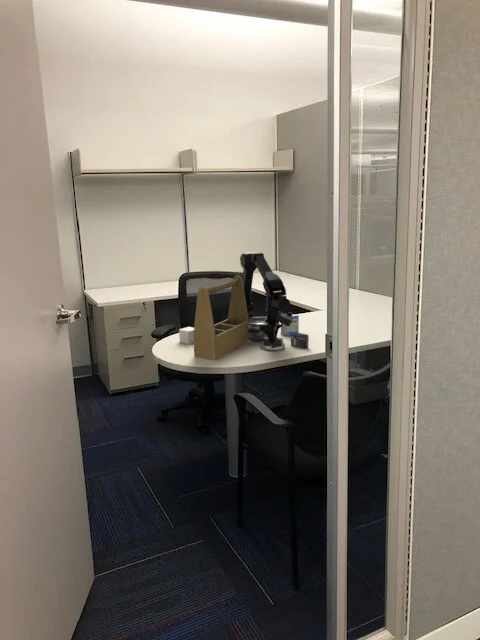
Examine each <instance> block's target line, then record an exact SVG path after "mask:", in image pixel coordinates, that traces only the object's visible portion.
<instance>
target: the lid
mask: <svg viewBox="0 0 480 640" xmlns="http://www.w3.org/2000/svg"><path fill="white" fill-rule="evenodd" d="M260 348H261V349H263V350H265V351H270V352H271V351H273V352H274V351H282V350H284V349H286V344H285V342H284V339H283V338H282V337H274V342H273V344H271V343H270V341H269V339H268V337H264V338H263V342H261V344H260Z"/></svg>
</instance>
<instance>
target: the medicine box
mask: <svg viewBox="0 0 480 640" xmlns="http://www.w3.org/2000/svg"><path fill="white" fill-rule="evenodd" d="M292 316H293V321H292V323H291V325H290V326H286V325H284V324H282V323H280V325H282V326H281V327H280V335H283V336H291V332H297V333H300V332H299V329H300V327H299V325H300V323H299V322H300V319H299V318H300V317H299V315H298V314H293V313H292Z"/></svg>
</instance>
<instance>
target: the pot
mask: <svg viewBox="0 0 480 640" xmlns="http://www.w3.org/2000/svg"><path fill="white" fill-rule="evenodd" d="M266 319H267V316H252V317H249V318H248V321H249V341H250V342H255V343H257V342H258V343H263V338H264V337H267V335H266V333H265V332H264V331H260V326H261V325H262V324H263V323H268V322H265V320H266Z"/></svg>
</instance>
